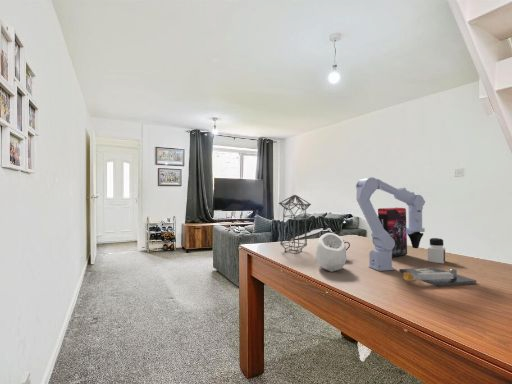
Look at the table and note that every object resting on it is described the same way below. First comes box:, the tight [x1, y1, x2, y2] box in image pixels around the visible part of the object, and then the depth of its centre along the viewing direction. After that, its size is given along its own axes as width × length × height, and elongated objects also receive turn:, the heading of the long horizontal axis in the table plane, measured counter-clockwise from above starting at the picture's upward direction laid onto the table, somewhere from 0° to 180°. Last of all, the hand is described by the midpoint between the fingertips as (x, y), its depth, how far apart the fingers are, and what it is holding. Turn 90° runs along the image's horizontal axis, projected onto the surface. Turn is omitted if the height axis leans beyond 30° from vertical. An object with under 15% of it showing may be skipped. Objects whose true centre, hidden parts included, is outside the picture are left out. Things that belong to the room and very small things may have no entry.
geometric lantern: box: [278, 194, 312, 255], centre depth 173 cm, size 16×16×35 cm
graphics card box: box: [377, 207, 408, 258], centre depth 163 cm, size 17×7×27 cm, turn 119°
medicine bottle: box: [427, 237, 446, 264], centre depth 149 cm, size 7×7×12 cm
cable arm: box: [403, 268, 458, 282], centre depth 112 cm, size 21×3×4 cm, turn 94°
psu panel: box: [398, 266, 477, 288], centre depth 121 cm, size 18×21×2 cm
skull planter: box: [315, 232, 347, 273], centre depth 136 cm, size 14×20×19 cm
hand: (415, 247), depth 137 cm, fingers closed
